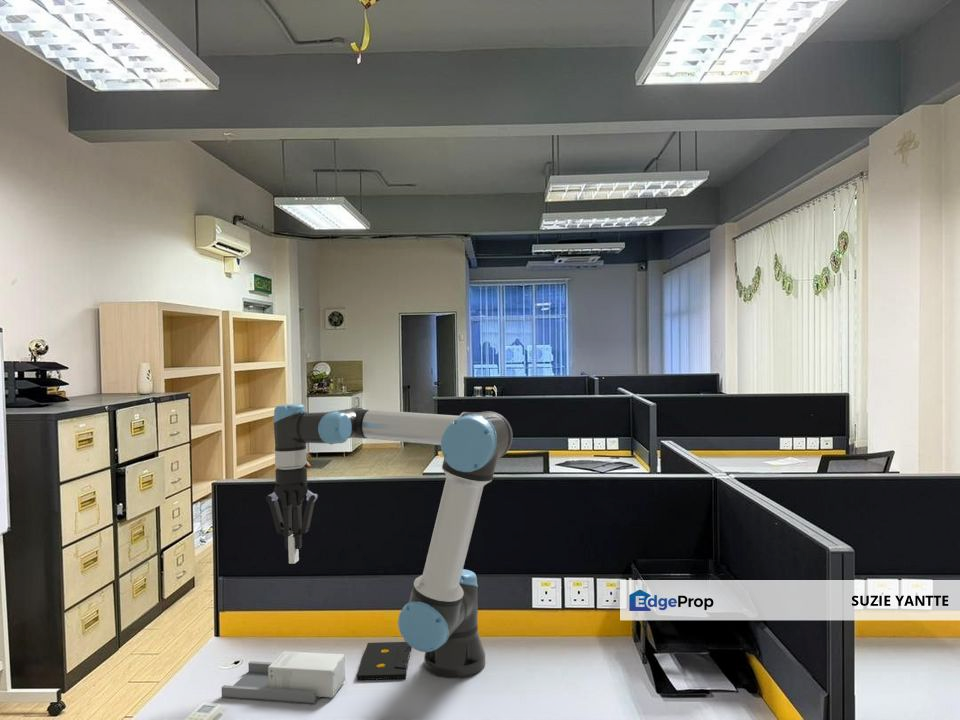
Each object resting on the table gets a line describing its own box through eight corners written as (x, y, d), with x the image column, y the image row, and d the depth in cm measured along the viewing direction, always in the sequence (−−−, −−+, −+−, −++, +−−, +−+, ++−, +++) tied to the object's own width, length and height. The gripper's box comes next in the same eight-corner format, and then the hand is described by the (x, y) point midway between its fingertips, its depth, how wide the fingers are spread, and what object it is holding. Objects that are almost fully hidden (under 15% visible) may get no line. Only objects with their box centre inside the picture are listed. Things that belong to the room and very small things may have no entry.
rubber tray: (336, 676, 158) (336, 666, 158) (314, 704, 146) (313, 693, 146) (250, 670, 162) (250, 661, 162) (221, 697, 149) (221, 687, 149)
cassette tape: (405, 682, 156) (405, 673, 156) (356, 683, 156) (356, 674, 156) (411, 648, 174) (411, 640, 174) (367, 649, 174) (367, 641, 174)
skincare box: (267, 693, 150) (332, 700, 147) (267, 664, 150) (331, 670, 147) (284, 676, 158) (346, 681, 155) (284, 648, 158) (346, 653, 155)
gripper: (321, 464, 167) (324, 557, 167) (272, 464, 169) (275, 557, 168) (310, 468, 160) (313, 566, 160) (259, 469, 161) (262, 566, 161)
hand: (293, 561), depth 164 cm, fingers closed
